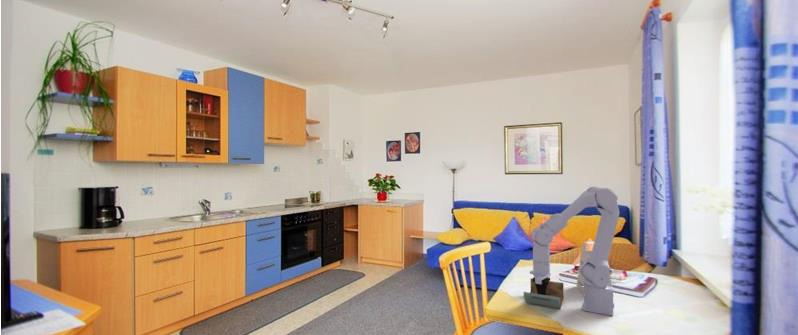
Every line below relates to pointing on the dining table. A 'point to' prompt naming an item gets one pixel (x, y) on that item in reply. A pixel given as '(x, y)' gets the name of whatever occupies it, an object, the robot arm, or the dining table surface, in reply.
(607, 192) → the robot arm
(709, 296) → the dining table surface
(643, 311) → the dining table surface
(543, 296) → the panel
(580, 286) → the grater
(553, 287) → the cart bed
